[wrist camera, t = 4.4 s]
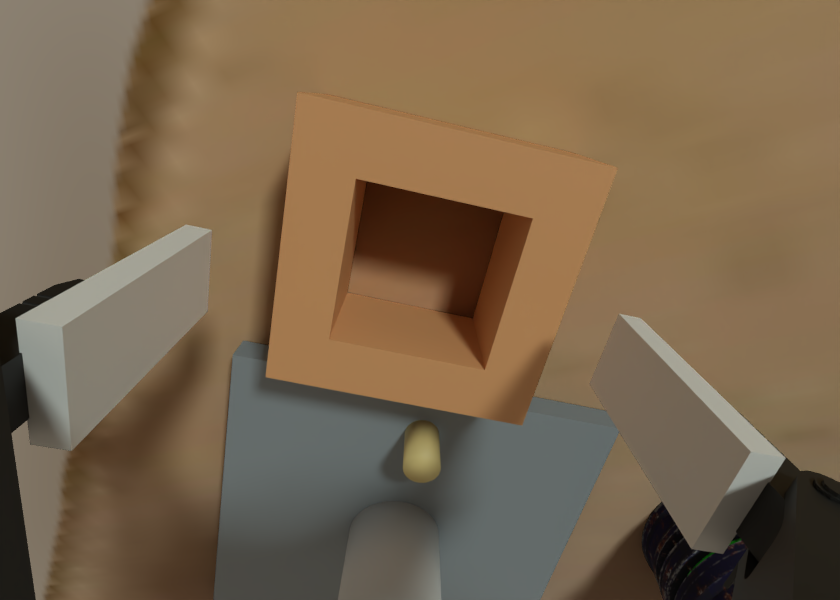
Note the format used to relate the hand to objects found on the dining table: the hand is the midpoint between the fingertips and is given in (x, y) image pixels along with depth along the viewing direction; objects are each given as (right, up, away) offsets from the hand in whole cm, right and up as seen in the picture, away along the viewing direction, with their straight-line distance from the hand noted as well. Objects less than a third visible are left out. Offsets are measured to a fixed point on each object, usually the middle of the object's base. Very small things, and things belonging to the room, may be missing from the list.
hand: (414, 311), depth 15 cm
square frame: (0, +3, +7) cm, 8 cm away
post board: (-1, -13, +14) cm, 19 cm away
